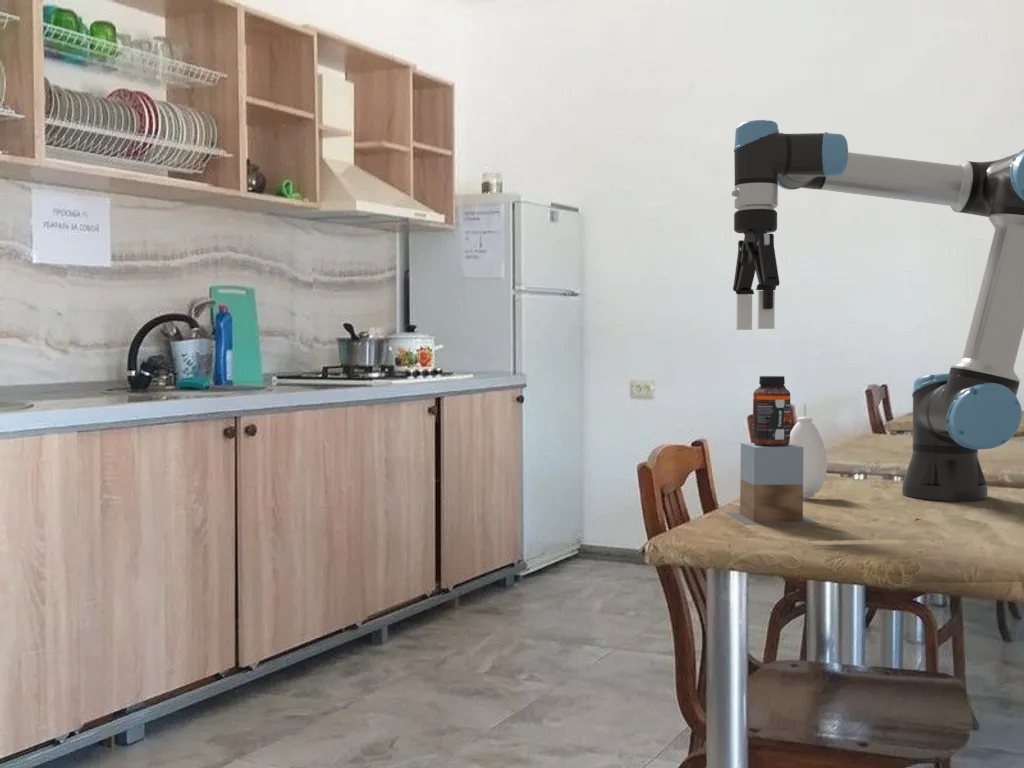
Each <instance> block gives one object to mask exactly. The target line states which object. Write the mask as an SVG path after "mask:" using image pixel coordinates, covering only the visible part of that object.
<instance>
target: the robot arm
mask: <svg viewBox="0 0 1024 768" xmlns="http://www.w3.org/2000/svg"><path fill="white" fill-rule="evenodd" d="M734 134H735V135H734V148H733V152H734V155H733V156H734V158H733V159H734V190H732V191H731V196H732V197H734V208H735V209H736V211H735V212H734V213H733V231H734V232H735V233H737V234H743V235H744V237H743V240H741V239H740V240H738V243H737V257H736V266H735V273H734V279H733V285H732V290H733V292H735V294H736V330H737V331H739V330H740V331H746V330H747V331H748V330H749V331H751V330H753V295H754V294H755V291H754V289H753V288H752V287H753V282H754V278H755V275H756V279H757V282H758V283H757V285H756V288H755V290H756V291H757V329H758V330H759V329H760V330H765V329H766V330H768V329H770V330H774V329H775V301H776V300H775V296H776V295H775V291H776V288H777V287H779V285H780V278H779V277H780V276H779V271H778V264H777V258H776V250H775V236H774V233H775V232H776V231H777V229H778V212H777V210H775V209H776V208H777V207H778V206H779V205H778V203H779V202H778V201H779V196H778V195H779V194H778V193H779V187H780V188H782V189H784V190H798V189H801V188H802V189H808V190H809V189H810V190H819V191H820V190H822V191H829V192H837V193H846V194H853V195H860V196H869V197H876V198H877V197H878V198H886V199H893V200H901V201H910V202H916V203H917V202H918V203H923V204H924V203H925V204H933V205H941V206H948V207H950V209H951V210H952V211H953V212H954V213H961V214H967V215H973V216H980V217H985V218H988V220H989V222H990V223H991V225H992V226H993V227H994V233H993V238H992V241H991V245H990V249H989V251H988V256H987V260H986V266H985V269H984V274H983V277H982V281H981V285H980V287H979V288H980V289H979V292H978V295H977V296H978V297H977V300H976V304H975V308H974V311H973V312H974V313H973V316H972V320H971V324H970V327H969V331H968V336H967V339H966V342H965V343H966V344H965V347H964V351H963V354H962V358H961V359H960V360H959V361H957V362H956V363H954V364H952V365H951V366H950V368H949V369H950V370H949V373H936V374H927V375H920V376H918V377H917V378H916V379H915V380H914V382H913V390H912V394H911V396H912V453H911V458H910V461H909V464H908V466H907V469H906V472H905V473H904V475H905V476H904V478H903V481H902V487H901V488H902V492H901V494H902V495H904V496H906V497H910V498H916V499H917V498H918V499H924V500H925V499H926V500H936V501H956V502H957V501H980V500H985V499H987V498H988V484H987V481H986V477H985V474H984V471H983V469H982V465H981V463H980V460H979V450H992V449H995V448H998V447H1000V446H1002V445H1004V444H1005V443H1007V442H1009V441H1010V440H1011V439H1012V438H1013V437H1014V435H1015V434H1017V432H1018V430H1019V427H1020V426H1021V422H1022V418H1023V415H1022V414H1023V412H1022V405H1021V403H1020V402H1019V399H1018V397H1017V394H1018V391H1019V387H1020V383H1021V379H1020V378H1019V376H1018V375H1017V374H1016V372H1015V370H1014V369H1015V364H1016V360H1017V357H1018V352H1019V348H1020V345H1021V340H1022V336H1023V333H1024V149H1022V150H1020V151H1019V152H1017V153H1014V154H1012V155H1009V156H1006V157H1004V158H1000V159H996V160H991V161H968V160H964V161H962V162H961V163H959V165H958V164H957V165H955V164H949V163H941V162H940V163H939V162H931V161H923V160H914V159H907V158H906V159H905V158H898V157H889V156H882V155H875V154H874V155H873V154H864V153H859V152H849V145H848V140H847V138H846V136H845V135H843V134H841V133H833V132H831V133H830V132H827V131H825V132H824V133H823V132H818V133H817V132H816V133H815V132H814V133H783V132H780V130H779V125H778V123H777V122H776V121H773V120H766V119H754V120H748V121H744V122H741V123H739V125H737V127H736V128H735V133H734Z"/></svg>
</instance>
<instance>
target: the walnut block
mask: <svg viewBox="0 0 1024 768" xmlns="http://www.w3.org/2000/svg"><path fill="white" fill-rule="evenodd" d="M739 481H740V488H739V489H740V492H739V497H740V499H739V500H740V501H739V502H740V503H739V504H740V506H739V508H740V509H739V512H740V514H741V515H742V516H744V517H746V518H748V519H749V520H751V521H753V522H803V516H804V500H803V484H787V485H753V484H751V483H749V482H747V481H745V480H742V479H740V480H739Z"/></svg>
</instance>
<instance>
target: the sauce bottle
mask: <svg viewBox="0 0 1024 768" xmlns="http://www.w3.org/2000/svg"><path fill="white" fill-rule="evenodd" d="M790 443H791V444H794V445H798V446H801V447H803V501H804V500H805V501H806V500H810V498H813V497H815V494H816V493H819V492H820V491H821V489H822V487H823V486H824V482H825V480H826V477H827V469H828V467H827V454H826V448H825V445H824V441H823V439H822V437H821V434H820V432H819V430H818V428H817V427H816V425H815V424H814V423H813V418H812V417H809V416H807V404H806V403H804V404H803V416H800V417H797V422H796V424H795V425H794V426H793V427H792V429H791V430H790Z"/></svg>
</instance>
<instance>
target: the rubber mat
mask: <svg viewBox="0 0 1024 768" xmlns="http://www.w3.org/2000/svg"><path fill="white" fill-rule="evenodd" d="M725 514H727V515H728V516H730V517H732V518H734V519H735V520H737V521H738V522H740V523H742V524H743V525H746V526H747V525H751V526H752V525H812V524H813V525H817V524H818V525H820V523H819V522H818V521H815V520H813V519H811V518H809V517H806V516H804V515H803V522H753V521H751V520H749V519H748V518H746V517H744V516H742V515H741V514H740V511H739V512H737V511H735V512H730V511H729V512H725Z"/></svg>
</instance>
